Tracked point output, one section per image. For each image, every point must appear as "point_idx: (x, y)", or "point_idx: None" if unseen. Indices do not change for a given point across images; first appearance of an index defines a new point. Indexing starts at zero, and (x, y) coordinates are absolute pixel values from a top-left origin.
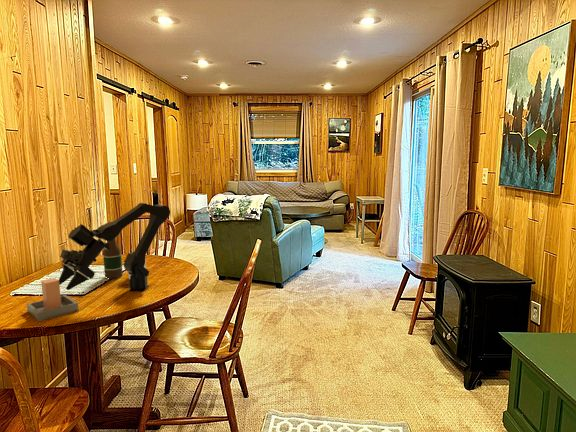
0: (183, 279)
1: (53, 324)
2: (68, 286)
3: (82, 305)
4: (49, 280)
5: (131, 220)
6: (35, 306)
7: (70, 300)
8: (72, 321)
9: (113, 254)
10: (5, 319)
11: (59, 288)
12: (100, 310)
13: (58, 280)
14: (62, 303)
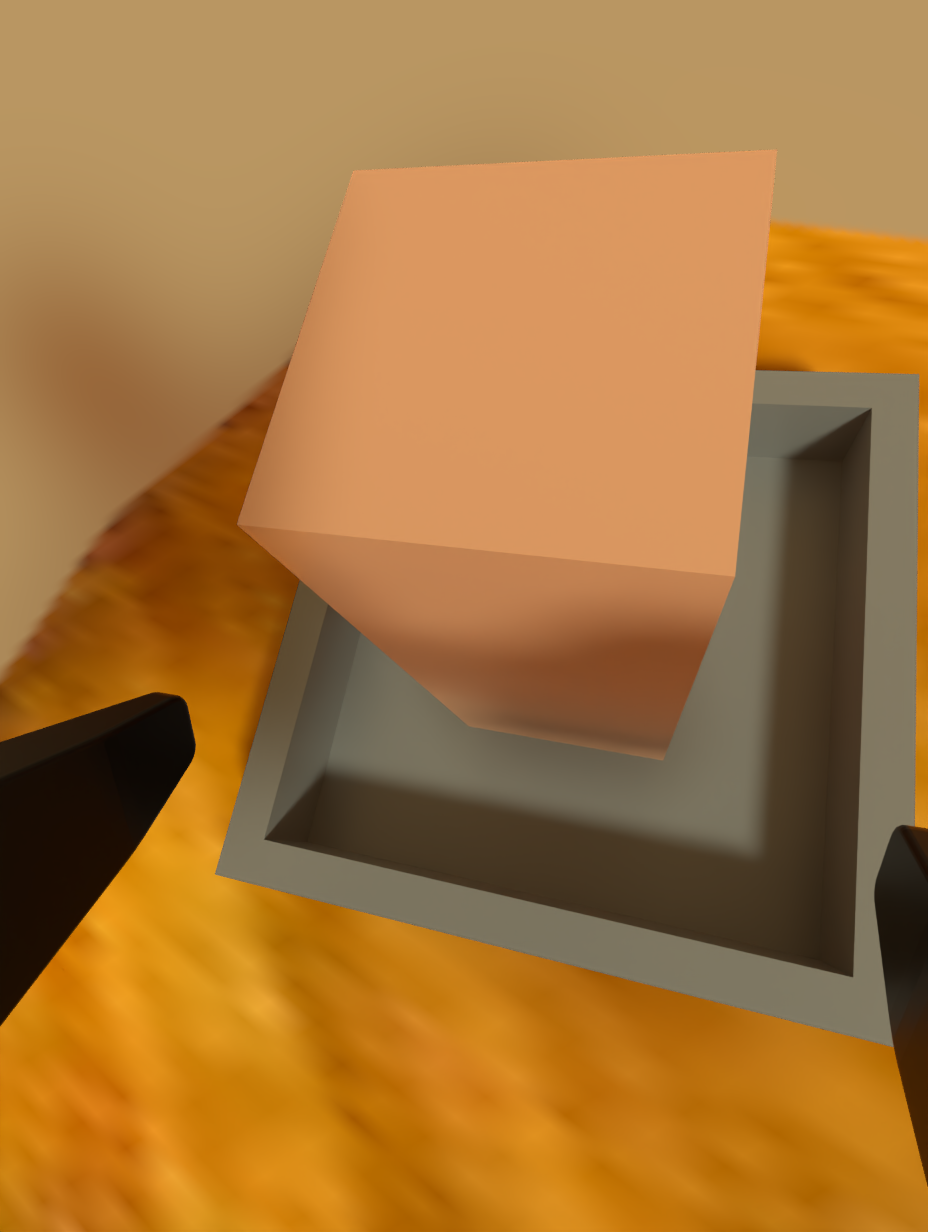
0: None
1: (186, 488)
2: (84, 729)
3: (422, 1060)
4: (557, 330)
5: None
6: (847, 504)
7: (438, 880)
8: (72, 637)
9: None
10: (785, 230)
11: (349, 615)
12: (14, 1058)
13: (269, 519)
14: (713, 871)
